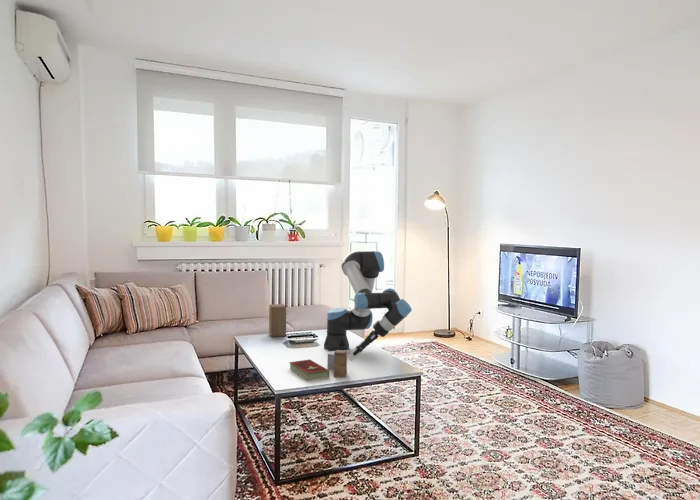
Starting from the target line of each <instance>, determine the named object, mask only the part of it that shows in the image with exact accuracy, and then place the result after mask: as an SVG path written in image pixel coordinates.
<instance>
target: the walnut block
mask: <svg viewBox="0 0 700 500" xmlns="http://www.w3.org/2000/svg"><path fill="white" fill-rule="evenodd" d="M347 356H348V350H337V351H335V352H334V370H333V377H334V378H339V379H340V378H341V379H344V378H345V377H346V376H347V375H348V371H347V369H348V368H347V367H348V364H347V362H348V357H347Z"/></svg>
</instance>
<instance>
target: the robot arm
mask: <svg viewBox="0 0 700 500" xmlns="http://www.w3.org/2000/svg"><path fill="white" fill-rule="evenodd" d="M341 271H342V272H343V274H344V275H345V276H346V277H347V279H348V281H349V283H350V286H351V288H352V290H353V292H354V294H355V295H354V296H353V297H354V298H353V300H354V301H353V302H354V305H352V307H351V310H348V308H345V307H336V308H332V309H330V310H328V311H327V313H326V314H327V315H326V316H327V317H326V337H325V338H324V339H325V340H324V343H323V349H324V350H326V351H329V352H330V351H337V350H344V351H348V350H350V343H349V340H348V337H347V331H357V330H358V331H359V330H360V331H363V330H369V329H370V328H371V326H372V327H373V328H372V329H373V330H371V332H370V333H369V334H368V335H367V336H366V337H365V338H364V340H363V341H361V342H360V343H359V344H358V345H356V346H355V348H354V349H353V351H351V352H350V353H349V354H347V359H349V360H350V361H351V362H352V361H353V360H354V359H355V358H356V357H357V356H358V355H359V354H361V352H363V351H364V350H365V349H366V348H367V347H368V346H369V345H370V344H372V343H373V342H375V340H377V339H378V338H379V336H380V337H382V338H385V336H386V335H388V334H389V332H391V331H392V330H395V329H396V326H398V324H400V323H401V322H402V321H403V320H404V319H406V318H407V317H408V315H409V314H410V313H411V312H412V307H411V305H410V304H409V302H407V300H406V299H402V298H400V296H399V294H398V293H397V291H396V290H395V289H393V288H391V287H389V288H386V289H384V290H383V291H382V292H373V291H374V285H375V281H376V279H377V278H378V277H379V274H380V273H383V272H384V271H385V259H384V256H383V254H382V253H381V251H377V250H375V251H374V250H372V251H362V250H361V251H360V250H359V251H358V250H355V251H351V252H348V253H347V254H346V255H345V256H344V257H343V259H342V262H341ZM371 309H374V310H376V309H387V312H386V313H384V314H383V315H382V316H381V317H380V318H379V320H377V321H375V323H373V318H374V317H373V312H372V310H371ZM372 324H373V325H372Z"/></svg>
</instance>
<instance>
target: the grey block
mask: <svg viewBox="0 0 700 500" xmlns="http://www.w3.org/2000/svg"><path fill="white" fill-rule="evenodd" d="M334 352H335V351H330V350H329V352H327V364H326V365H327V366H326V367H327V368H326V369H327V370H329V371H334Z"/></svg>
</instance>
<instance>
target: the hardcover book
mask: <svg viewBox="0 0 700 500" xmlns="http://www.w3.org/2000/svg"><path fill="white" fill-rule="evenodd" d="M288 363H289V370H291V371H292V372H294V373H295V374H297V376H300V377H301V378H303V379H304V380H306V382H307V381H313V380H318V379H320V380H321V379H325V378H329V377H330V370H327V368H326V367H324V366H323V365H320V364H318V363H317V362H315V361H313V359H303V360H297V361H290V362H288Z"/></svg>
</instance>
